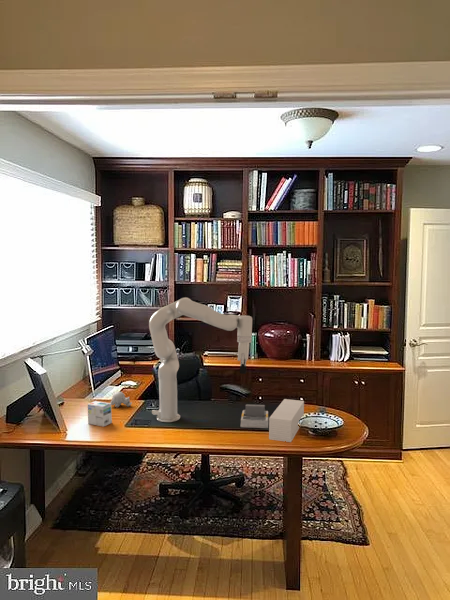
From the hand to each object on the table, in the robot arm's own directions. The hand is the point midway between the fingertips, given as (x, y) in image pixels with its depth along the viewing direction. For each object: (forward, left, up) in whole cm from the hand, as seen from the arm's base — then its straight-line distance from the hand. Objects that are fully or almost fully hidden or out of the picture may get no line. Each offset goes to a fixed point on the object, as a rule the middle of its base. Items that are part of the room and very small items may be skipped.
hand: (242, 373), depth 249 cm
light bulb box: (-74, -13, -26) cm, 79 cm away
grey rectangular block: (+23, -12, -26) cm, 37 cm away
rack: (+7, -3, -25) cm, 26 cm away
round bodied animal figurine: (-72, +15, -26) cm, 78 cm away
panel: (+7, -3, -24) cm, 25 cm away
